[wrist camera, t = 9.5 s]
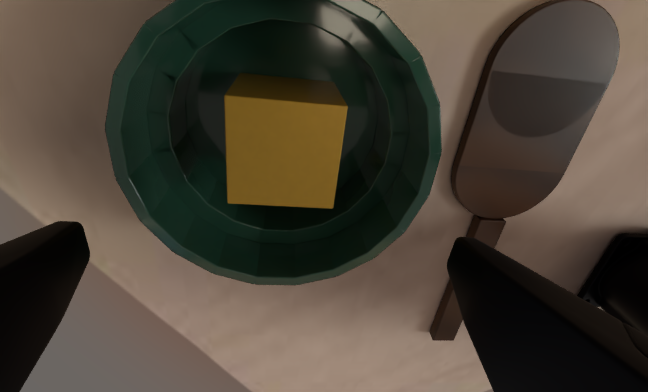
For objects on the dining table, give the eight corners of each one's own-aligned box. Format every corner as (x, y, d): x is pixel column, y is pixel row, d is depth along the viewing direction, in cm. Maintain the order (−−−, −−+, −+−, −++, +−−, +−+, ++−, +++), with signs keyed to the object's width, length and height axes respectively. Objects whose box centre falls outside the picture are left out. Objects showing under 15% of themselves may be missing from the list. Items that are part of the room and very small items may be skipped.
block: (324, 166, 18) (333, 209, 14) (240, 160, 18) (227, 204, 14) (334, 81, 16) (348, 106, 12) (239, 72, 16) (223, 95, 12)
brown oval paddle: (478, 332, 27) (483, 340, 27) (399, 331, 26) (402, 340, 26) (636, 8, 16) (651, 8, 16) (508, -11, 15) (519, -12, 15)
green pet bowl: (376, 223, 21) (402, 288, 16) (173, 214, 20) (135, 282, 15) (426, 1, 15) (487, 1, 11) (143, -37, 14) (65, -58, 9)
